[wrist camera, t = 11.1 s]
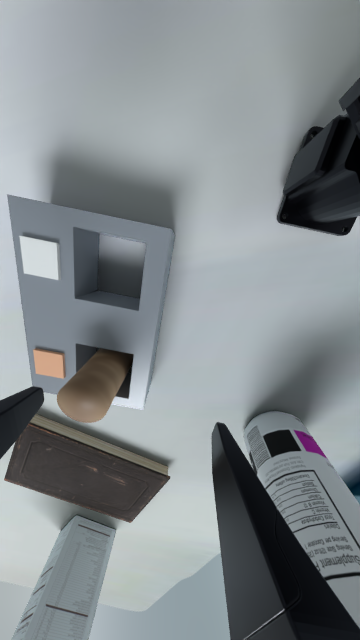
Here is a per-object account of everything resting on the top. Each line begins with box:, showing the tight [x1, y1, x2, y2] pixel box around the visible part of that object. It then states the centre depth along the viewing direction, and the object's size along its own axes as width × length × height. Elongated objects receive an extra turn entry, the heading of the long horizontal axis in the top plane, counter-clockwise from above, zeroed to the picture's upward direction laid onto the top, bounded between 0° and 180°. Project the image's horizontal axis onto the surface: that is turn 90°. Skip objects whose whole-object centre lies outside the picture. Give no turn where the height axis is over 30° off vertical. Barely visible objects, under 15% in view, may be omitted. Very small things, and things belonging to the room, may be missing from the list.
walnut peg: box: [57, 348, 134, 423], centre depth 17 cm, size 4×4×8 cm
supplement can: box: [243, 411, 360, 628], centre depth 17 cm, size 8×8×15 cm
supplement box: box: [11, 515, 116, 640], centre depth 28 cm, size 10×9×17 cm
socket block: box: [7, 194, 175, 410], centre depth 17 cm, size 12×18×4 cm, turn 169°
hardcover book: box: [4, 414, 170, 523], centre depth 28 cm, size 16×23×2 cm
